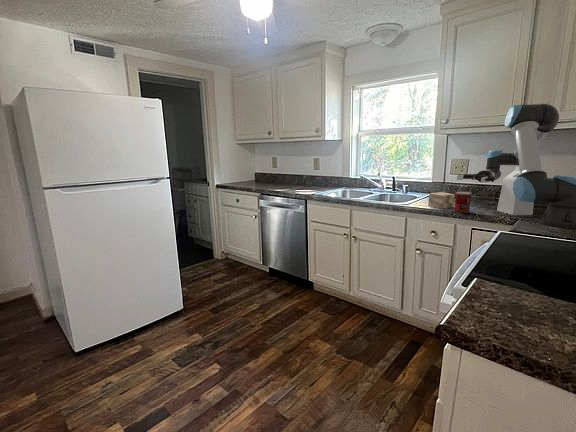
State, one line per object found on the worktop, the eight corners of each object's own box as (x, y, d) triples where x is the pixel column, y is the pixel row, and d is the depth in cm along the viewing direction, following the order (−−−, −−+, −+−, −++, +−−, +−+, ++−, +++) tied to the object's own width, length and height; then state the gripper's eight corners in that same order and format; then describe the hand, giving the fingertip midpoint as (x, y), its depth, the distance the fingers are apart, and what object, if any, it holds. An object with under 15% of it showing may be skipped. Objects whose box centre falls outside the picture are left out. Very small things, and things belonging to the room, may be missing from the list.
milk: (532, 214, 172) (540, 167, 167) (512, 215, 172) (520, 167, 166) (515, 210, 184) (522, 165, 178) (496, 210, 183) (503, 165, 177)
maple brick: (439, 204, 203) (441, 192, 202) (453, 207, 194) (454, 194, 193) (428, 205, 199) (429, 193, 198) (441, 208, 191) (442, 195, 189)
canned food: (460, 213, 178) (463, 193, 175) (450, 210, 185) (453, 191, 183) (472, 212, 179) (475, 193, 177) (462, 209, 187) (464, 191, 184)
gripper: (506, 184, 188) (491, 188, 176) (463, 180, 208) (447, 183, 195) (509, 171, 186) (493, 174, 174) (465, 168, 206) (448, 171, 193)
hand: (469, 179), depth 185 cm, fingers open, 13 cm apart
